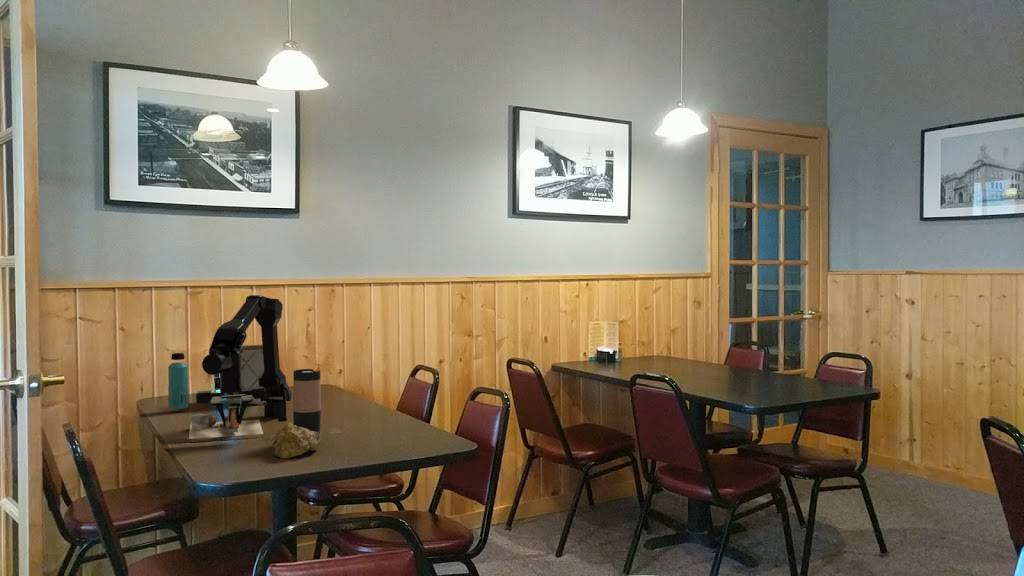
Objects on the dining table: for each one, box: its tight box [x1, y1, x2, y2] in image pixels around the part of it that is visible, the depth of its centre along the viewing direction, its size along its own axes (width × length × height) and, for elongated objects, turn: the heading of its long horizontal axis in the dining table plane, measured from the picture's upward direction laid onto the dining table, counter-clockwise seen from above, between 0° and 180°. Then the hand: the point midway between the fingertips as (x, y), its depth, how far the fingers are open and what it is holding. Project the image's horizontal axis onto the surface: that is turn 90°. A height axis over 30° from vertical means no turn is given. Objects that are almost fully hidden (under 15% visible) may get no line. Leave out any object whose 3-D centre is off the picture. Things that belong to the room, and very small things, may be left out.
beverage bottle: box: [167, 352, 190, 410], centre depth 266 cm, size 6×7×20 cm
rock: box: [271, 421, 323, 459], centre depth 207 cm, size 12×9×10 cm
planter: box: [225, 344, 266, 406], centre depth 285 cm, size 19×19×20 cm
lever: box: [220, 406, 240, 433], centre depth 232 cm, size 21×3×7 cm, turn 27°
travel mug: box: [292, 368, 322, 434], centre depth 224 cm, size 8×8×20 cm
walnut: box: [208, 414, 217, 427], centre depth 236 cm, size 4×4×4 cm
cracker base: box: [188, 413, 264, 444], centre depth 233 cm, size 20×22×5 cm
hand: (232, 425), depth 223 cm, fingers open, 4 cm apart
